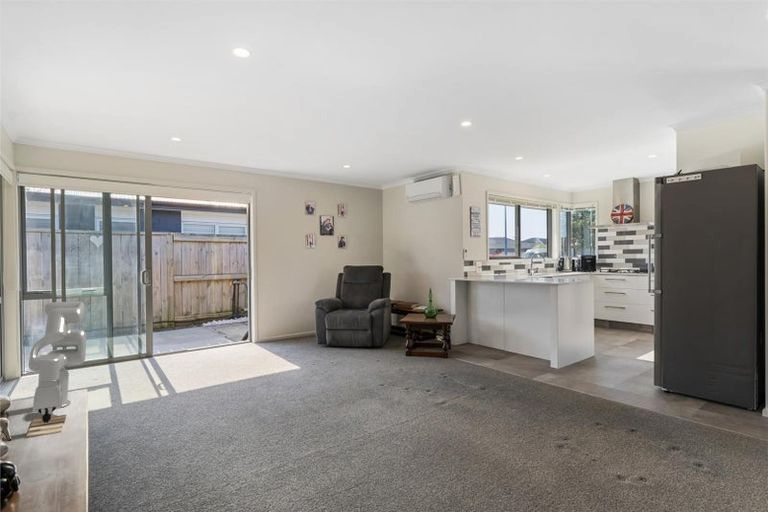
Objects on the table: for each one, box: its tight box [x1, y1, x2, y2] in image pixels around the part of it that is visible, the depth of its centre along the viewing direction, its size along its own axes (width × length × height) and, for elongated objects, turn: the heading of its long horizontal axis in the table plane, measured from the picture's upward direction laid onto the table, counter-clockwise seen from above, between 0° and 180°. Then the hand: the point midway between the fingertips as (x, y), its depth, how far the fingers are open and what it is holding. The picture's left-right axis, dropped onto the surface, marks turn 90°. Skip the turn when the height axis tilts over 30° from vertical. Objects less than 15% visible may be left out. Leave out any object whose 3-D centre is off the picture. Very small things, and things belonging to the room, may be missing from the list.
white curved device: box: [45, 408, 60, 417], centre depth 207 cm, size 17×5×10 cm, turn 38°
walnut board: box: [29, 414, 67, 429], centre depth 195 cm, size 12×13×2 cm
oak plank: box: [25, 423, 64, 439], centre depth 185 cm, size 11×12×2 cm
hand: (46, 421), depth 186 cm, fingers closed
